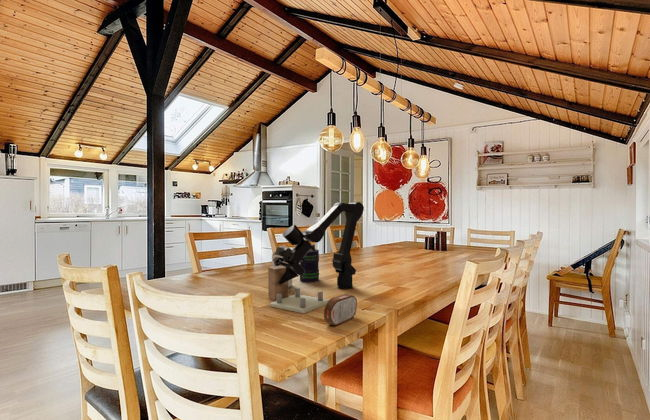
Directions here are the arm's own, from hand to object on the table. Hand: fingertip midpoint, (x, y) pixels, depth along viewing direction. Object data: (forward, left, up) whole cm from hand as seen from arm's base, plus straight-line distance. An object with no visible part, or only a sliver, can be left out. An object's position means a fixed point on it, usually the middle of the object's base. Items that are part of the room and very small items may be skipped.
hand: (275, 282), depth 145 cm
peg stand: (-11, +8, -7) cm, 15 cm away
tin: (-27, +27, -7) cm, 39 cm away
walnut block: (-1, -1, -7) cm, 7 cm away
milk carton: (+1, -21, -7) cm, 22 cm away
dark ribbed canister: (-10, -35, -7) cm, 37 cm away
